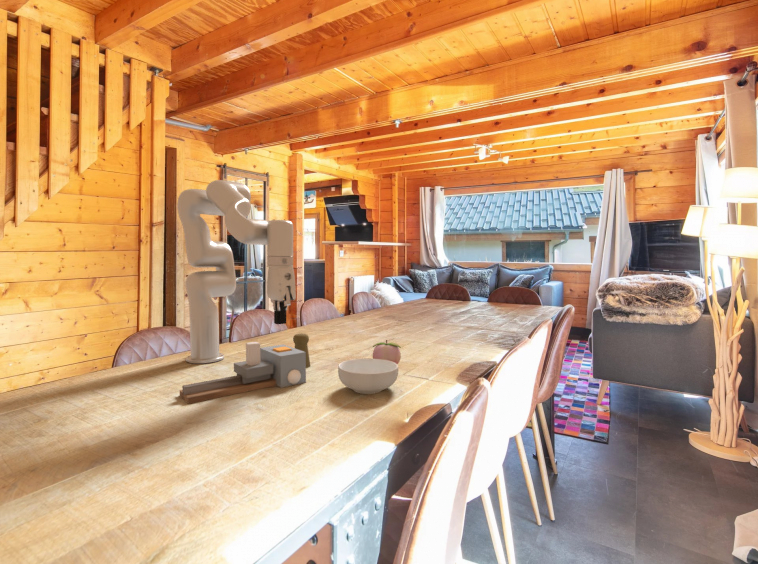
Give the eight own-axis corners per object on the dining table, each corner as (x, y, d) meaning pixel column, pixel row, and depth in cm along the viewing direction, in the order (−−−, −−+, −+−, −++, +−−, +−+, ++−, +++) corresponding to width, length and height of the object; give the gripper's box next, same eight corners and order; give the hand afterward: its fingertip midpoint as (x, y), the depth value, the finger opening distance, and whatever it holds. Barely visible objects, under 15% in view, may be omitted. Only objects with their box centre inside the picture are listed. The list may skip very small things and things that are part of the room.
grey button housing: (260, 376, 132) (259, 347, 131) (283, 372, 137) (283, 344, 136) (282, 388, 121) (281, 356, 120) (306, 382, 126) (306, 352, 125)
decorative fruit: (401, 367, 143) (401, 337, 142) (400, 373, 135) (400, 342, 134) (373, 366, 144) (373, 336, 143) (370, 373, 136) (370, 341, 135)
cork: (306, 369, 141) (306, 335, 140) (289, 368, 142) (288, 335, 141) (313, 364, 147) (312, 332, 146) (296, 363, 148) (295, 331, 147)
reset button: (273, 361, 129) (272, 348, 129) (285, 359, 132) (284, 346, 131) (279, 364, 126) (278, 350, 126) (291, 361, 128) (291, 348, 128)
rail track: (179, 395, 114) (179, 382, 114) (264, 379, 130) (264, 367, 129) (188, 403, 108) (188, 390, 108) (276, 385, 123) (276, 373, 123)
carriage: (234, 378, 124) (233, 342, 123) (260, 373, 129) (259, 338, 129) (246, 385, 117) (245, 347, 117) (273, 380, 122) (272, 343, 122)
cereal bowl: (392, 402, 110) (392, 374, 109) (330, 397, 113) (330, 371, 112) (402, 382, 126) (402, 358, 126) (347, 379, 129) (347, 356, 129)
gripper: (304, 263, 123) (303, 326, 125) (280, 261, 135) (280, 318, 136) (280, 263, 119) (280, 328, 120) (257, 261, 130) (257, 321, 132)
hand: (280, 323), depth 128 cm, fingers closed
